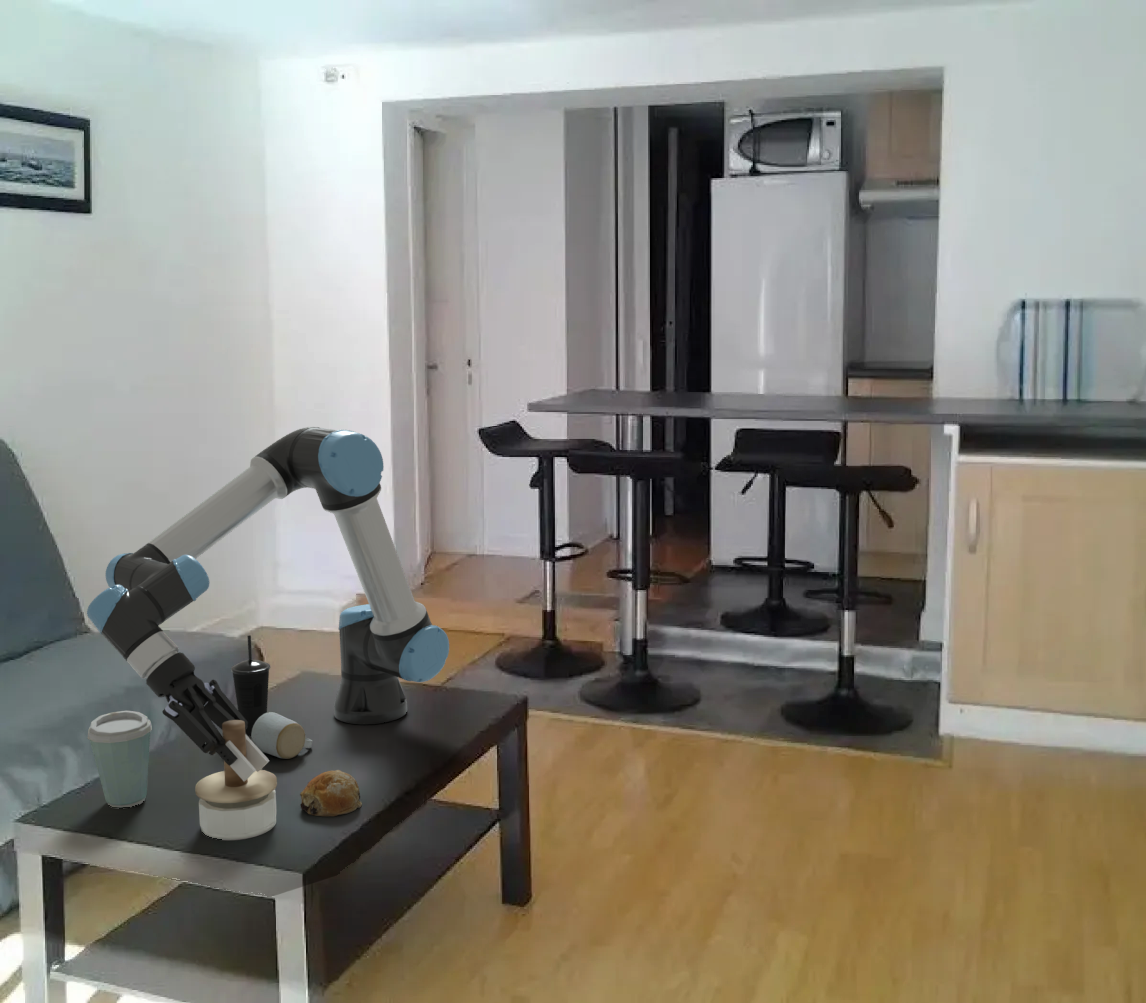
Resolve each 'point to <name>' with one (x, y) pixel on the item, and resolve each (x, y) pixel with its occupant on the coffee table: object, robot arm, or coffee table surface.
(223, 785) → the lid
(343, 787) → the bread roll
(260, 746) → the ceramic mug
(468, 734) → the coffee table surface
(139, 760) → the disposable coffee cup
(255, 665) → the drinking cup
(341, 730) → the coffee table surface
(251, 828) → the bowl
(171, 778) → the coffee table surface
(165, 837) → the coffee table surface
